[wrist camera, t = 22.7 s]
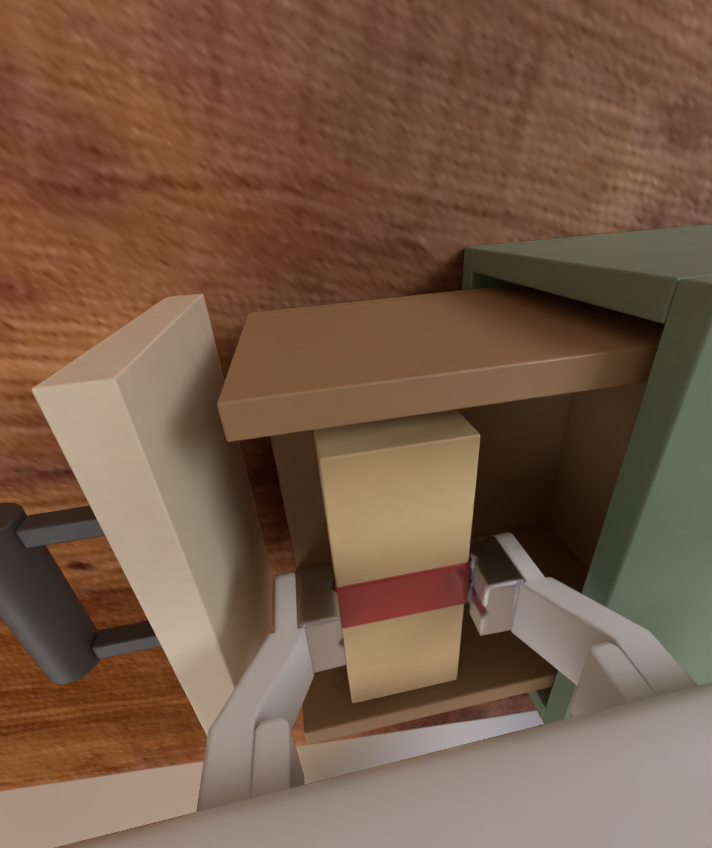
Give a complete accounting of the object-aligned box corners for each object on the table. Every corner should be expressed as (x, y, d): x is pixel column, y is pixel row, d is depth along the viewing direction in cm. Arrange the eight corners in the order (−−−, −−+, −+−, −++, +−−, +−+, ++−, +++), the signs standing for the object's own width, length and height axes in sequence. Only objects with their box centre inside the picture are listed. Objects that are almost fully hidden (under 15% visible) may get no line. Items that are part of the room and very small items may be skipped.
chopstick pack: (432, 611, 14) (459, 681, 12) (339, 631, 14) (350, 706, 12) (441, 389, 10) (485, 435, 8) (307, 407, 10) (316, 460, 8)
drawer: (146, 599, 18) (67, 823, 12) (5, 312, 12) (-358, 435, 5) (542, 526, 21) (671, 676, 14) (600, 254, 14) (889, 284, 8)
